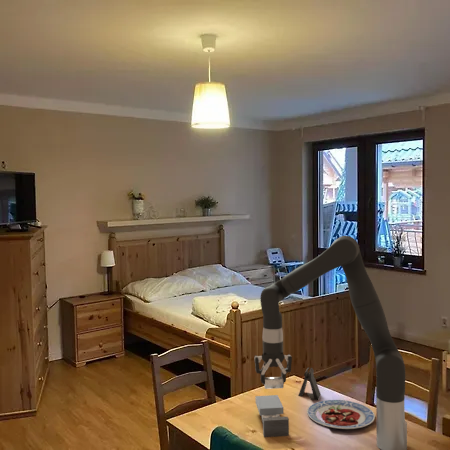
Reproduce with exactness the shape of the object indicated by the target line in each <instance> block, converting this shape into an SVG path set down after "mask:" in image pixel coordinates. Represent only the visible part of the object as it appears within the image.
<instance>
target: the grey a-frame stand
mask: <svg viewBox="0 0 450 450" xmlns="http://www.w3.org/2000/svg"><path fill="white" fill-rule="evenodd" d="M314 371H315V370H314V369H313V367H307V368H306V370H305V372H304V375H303V376H304V379H303V382H302V385H301V387H300V390H299V392H298V397H303V396H304V393H305V391H306V388H307V383H308V381H309V384H310V388H311V391H312V392H307V393H306V394H307V396H308V398H309V399H310V400H311V401H319V400H320V397H321V395H322V394H321V391H320V389H319V386H318V383H317V381H316V377H315V375H314Z"/></svg>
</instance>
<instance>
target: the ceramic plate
mask: <svg viewBox="0 0 450 450" xmlns="http://www.w3.org/2000/svg"><path fill="white" fill-rule="evenodd" d="M306 412H307V415H308V416H307V417H309V418H310V419H311V420H312V421H313V422H315V423H317V424H319V425H321V426H324V427H325V426H326V427H328V428H333V429H340V430H354V429H360V428H364V427H367V426H369V425H371V424H372V423H373V422H374V421H375V418H376V414H375V413H374V411H373V410H372V409H371V408H369V407H368V406H366V405H364V404H362V403H358V402H355V401H351V400H345V399H326V400H321V401H317V402H314V403H313V404H311V405H310V406H309V407H308V409H307V411H306ZM317 412H318V413H319V415H320V418H321V419H322V420H321V419H319V417H318V416H317Z"/></svg>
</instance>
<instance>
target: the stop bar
mask: <svg viewBox="0 0 450 450" xmlns="http://www.w3.org/2000/svg"><path fill="white" fill-rule="evenodd" d="M289 420H290V419H289V417H288V416H280V417H270V418H263V422H262V435H263V438H273V437H275V438H276V437H290V429H289V428H290V425H289V424H290V422H289Z"/></svg>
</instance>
